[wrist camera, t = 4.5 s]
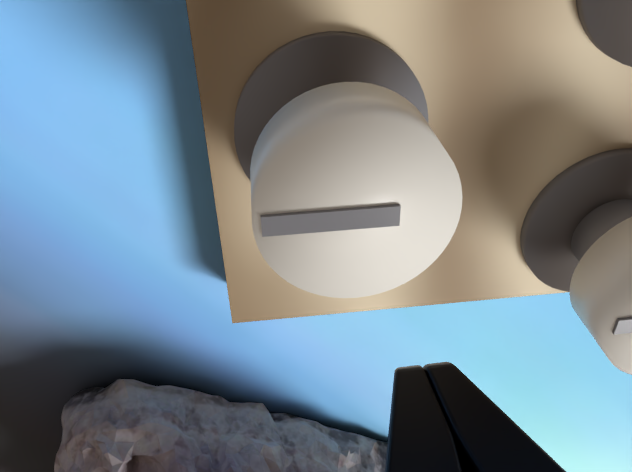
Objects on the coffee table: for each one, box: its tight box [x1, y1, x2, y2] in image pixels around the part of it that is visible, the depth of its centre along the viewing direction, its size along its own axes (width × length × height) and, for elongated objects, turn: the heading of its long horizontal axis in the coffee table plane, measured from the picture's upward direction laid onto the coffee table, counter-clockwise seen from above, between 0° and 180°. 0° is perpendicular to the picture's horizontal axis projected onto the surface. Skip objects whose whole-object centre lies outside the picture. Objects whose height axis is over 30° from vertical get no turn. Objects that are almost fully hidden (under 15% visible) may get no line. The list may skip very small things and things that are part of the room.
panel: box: [186, 0, 632, 323], centre depth 17 cm, size 16×16×2 cm
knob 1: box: [250, 82, 462, 298], centre depth 14 cm, size 5×5×4 cm
